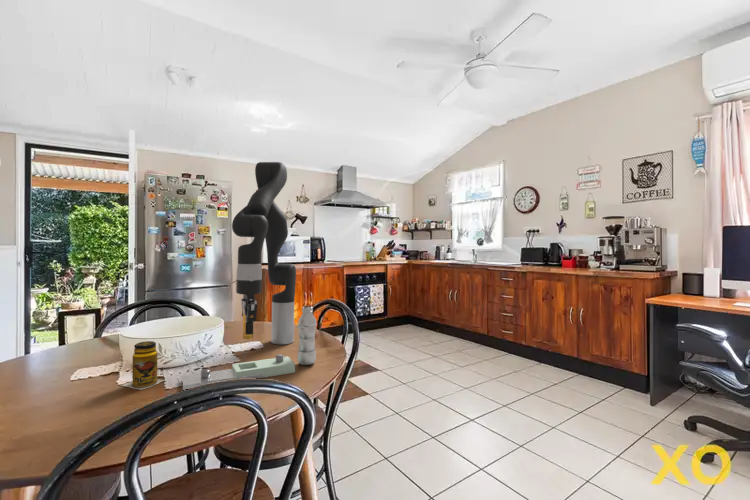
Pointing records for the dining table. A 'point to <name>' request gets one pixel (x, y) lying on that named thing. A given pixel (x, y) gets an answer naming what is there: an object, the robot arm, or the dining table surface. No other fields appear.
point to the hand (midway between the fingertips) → (248, 332)
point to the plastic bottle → (307, 337)
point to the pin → (245, 328)
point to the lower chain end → (212, 377)
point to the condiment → (144, 366)
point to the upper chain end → (265, 367)
